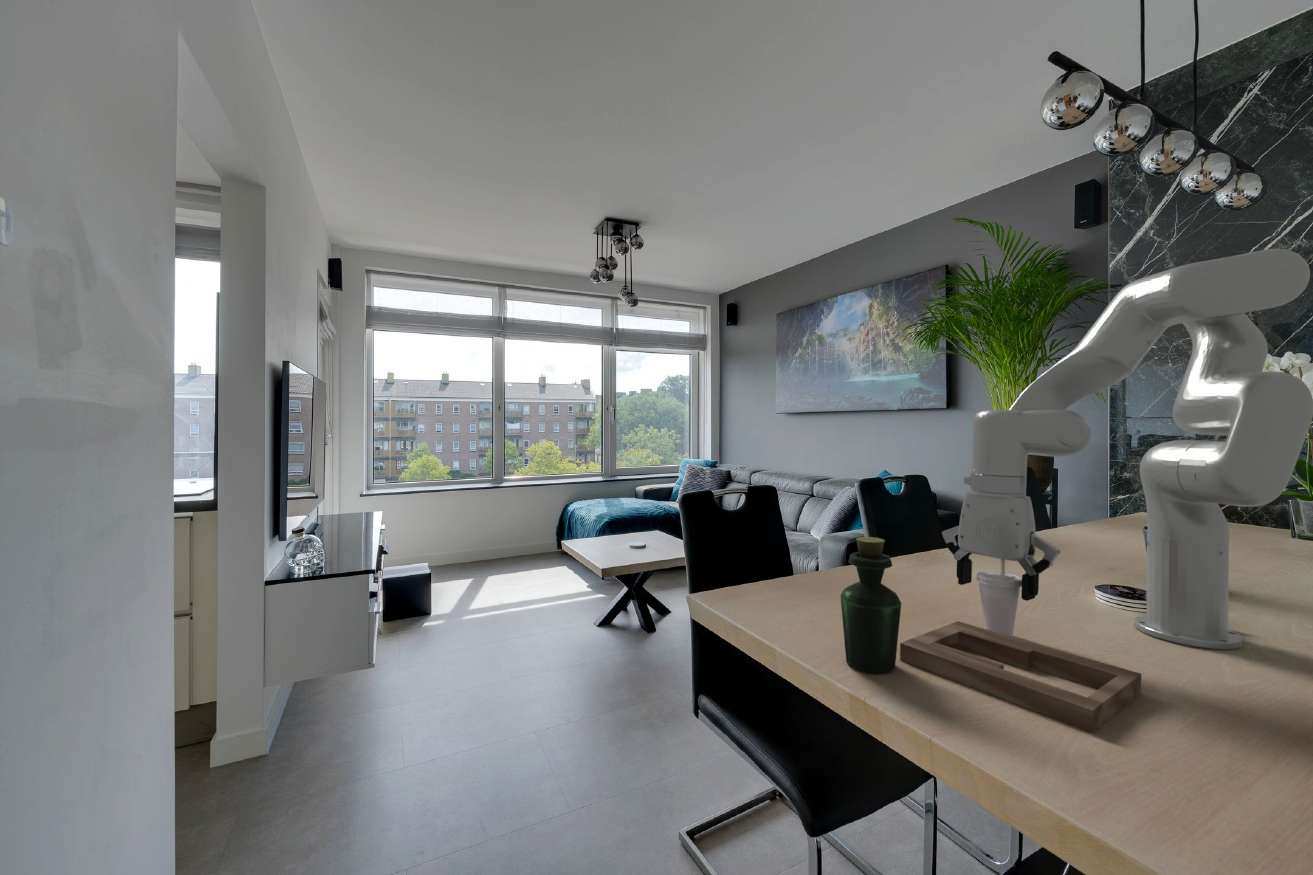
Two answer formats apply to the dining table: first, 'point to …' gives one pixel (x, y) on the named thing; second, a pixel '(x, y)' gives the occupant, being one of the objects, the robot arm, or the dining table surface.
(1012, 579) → the smoothie
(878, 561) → the potion bottle
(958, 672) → the keyhole board
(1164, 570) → the robot arm
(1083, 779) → the dining table surface
